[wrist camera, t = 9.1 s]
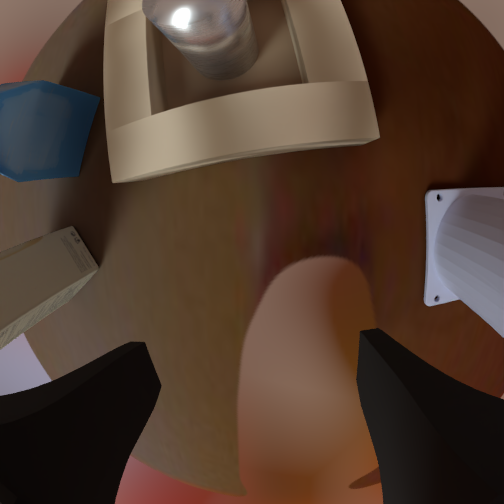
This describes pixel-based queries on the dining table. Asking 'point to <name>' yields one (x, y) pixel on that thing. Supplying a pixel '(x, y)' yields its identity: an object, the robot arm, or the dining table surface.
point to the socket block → (233, 92)
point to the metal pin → (208, 34)
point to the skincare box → (40, 279)
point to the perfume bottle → (43, 129)
